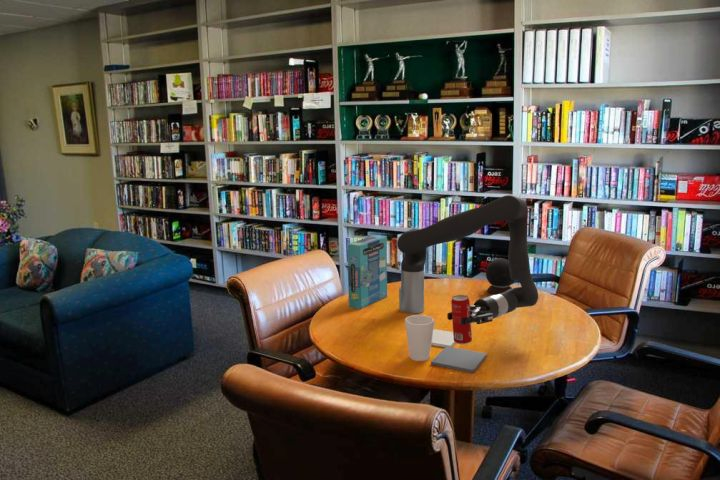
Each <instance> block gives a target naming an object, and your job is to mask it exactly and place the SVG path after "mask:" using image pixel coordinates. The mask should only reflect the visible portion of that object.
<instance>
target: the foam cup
mask: <svg viewBox="0 0 720 480" xmlns="http://www.w3.org/2000/svg"><path fill="white" fill-rule="evenodd" d="M404 326H405V331H406V338H407V346H408V353H409V358H410V359H411V360H413V361H416V362H425V361H427V360H429V358H430V354H431V348H432V345H431V342H432V335H433V329H435V319H434V317H432V316H430V315H424V314H412V315H410V316H406V317H405V319H404Z"/></svg>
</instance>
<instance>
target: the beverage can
mask: <svg viewBox="0 0 720 480" xmlns="http://www.w3.org/2000/svg"><path fill="white" fill-rule="evenodd" d="M450 304H451V312H452V319H451V320H452V332H453V336H454V342H455V344H458V345H467V344H470V343H471V342H472V341H473V338H472V337H473V336H472V323H468V324H465V325H462V324H461V318H466V317H468V318H469V316H470V305H471V302H470V299H469V296H468V295H464V294H457V295H454V296H452V297H451V301H450Z"/></svg>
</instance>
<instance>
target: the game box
mask: <svg viewBox="0 0 720 480" xmlns="http://www.w3.org/2000/svg"><path fill="white" fill-rule="evenodd" d="M387 246H388V236H387V235H381V234H374V235H371V236H368V237H365V238H362V239H359V240H356V241H352V242H349V243H347V281H348V283H347V284H348V307H349V308H351V307H352V309H356V310H362V309H363V308H366V307H367V306H370V305H372V304H375V303H377V302H378V301H381V300H382V299H384V298H387V297H388V247H387Z"/></svg>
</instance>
